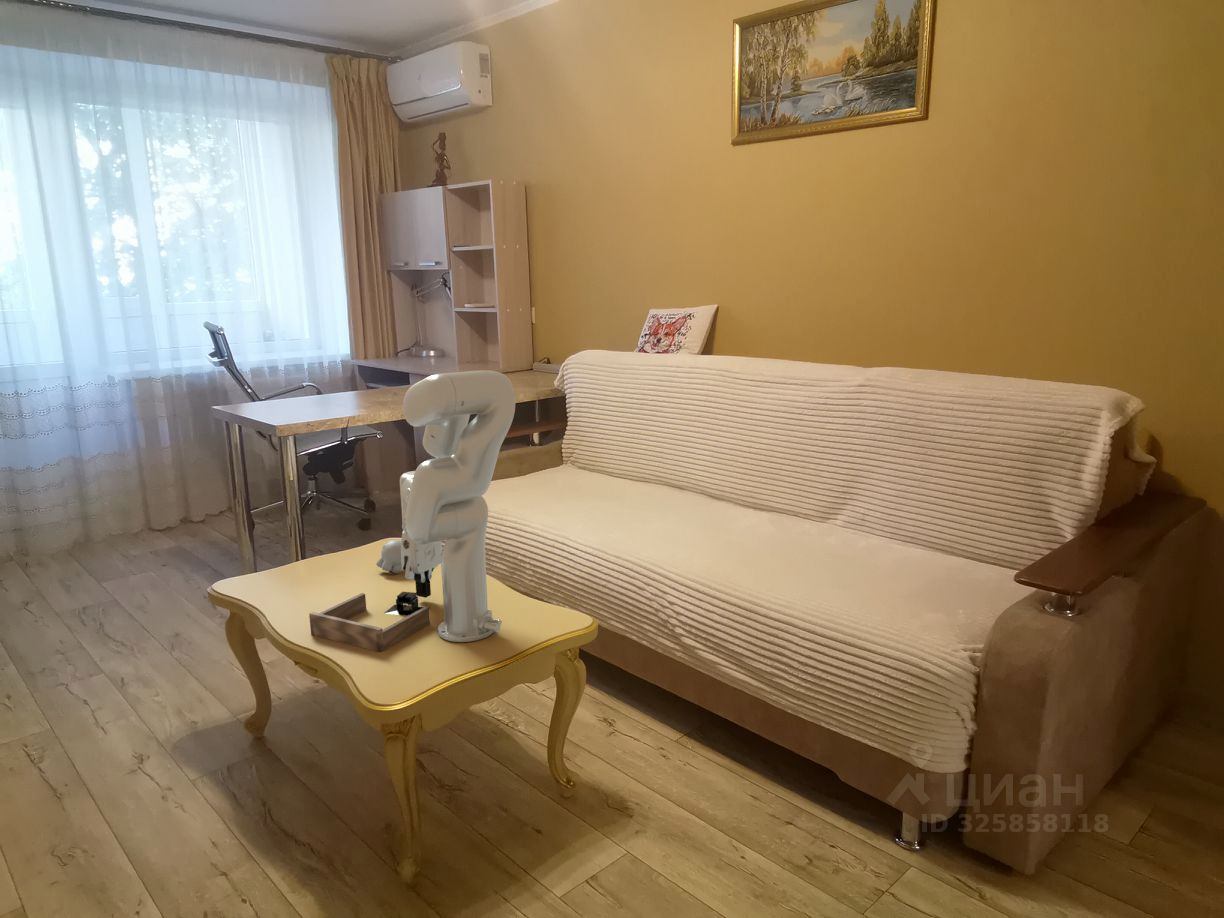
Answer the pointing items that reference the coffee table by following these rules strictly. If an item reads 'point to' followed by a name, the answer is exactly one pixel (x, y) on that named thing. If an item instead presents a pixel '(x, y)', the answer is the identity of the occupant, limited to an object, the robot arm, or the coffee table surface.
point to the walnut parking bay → (363, 625)
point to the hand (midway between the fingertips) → (423, 595)
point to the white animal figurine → (391, 557)
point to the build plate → (402, 609)
